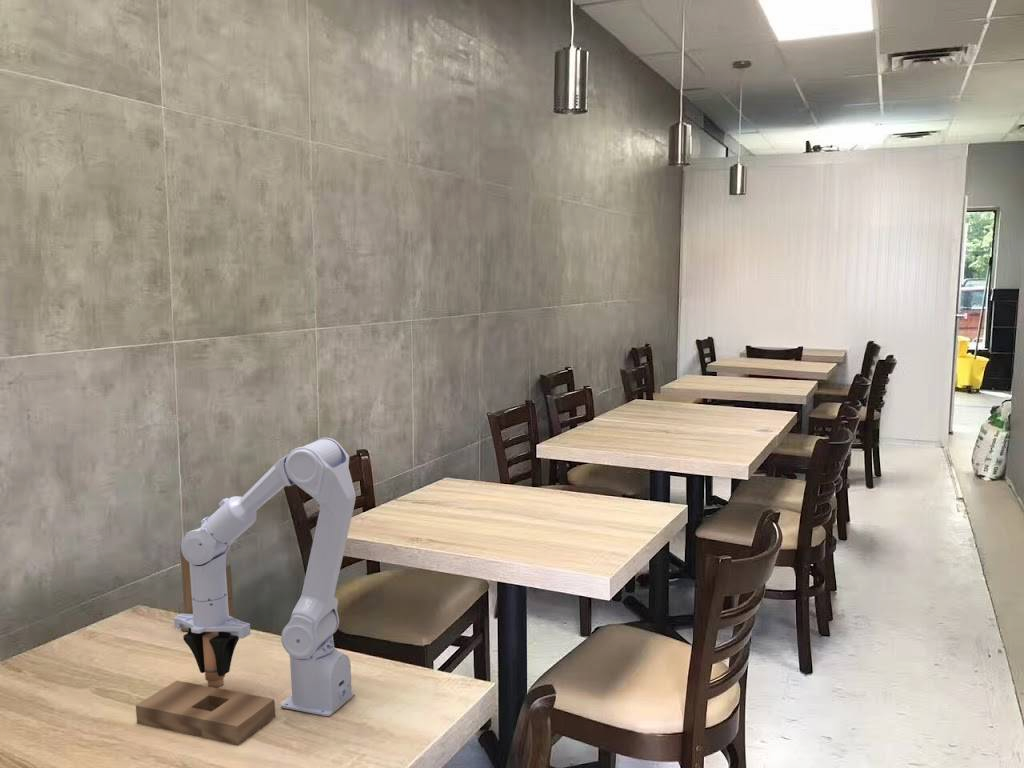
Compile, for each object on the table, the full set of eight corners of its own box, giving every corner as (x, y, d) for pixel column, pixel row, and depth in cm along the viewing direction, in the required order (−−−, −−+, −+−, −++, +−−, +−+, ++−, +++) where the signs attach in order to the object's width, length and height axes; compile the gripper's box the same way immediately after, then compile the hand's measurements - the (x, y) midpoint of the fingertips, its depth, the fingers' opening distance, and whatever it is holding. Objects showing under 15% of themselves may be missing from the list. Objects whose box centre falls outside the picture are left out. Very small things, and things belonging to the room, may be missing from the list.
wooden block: (223, 638, 167) (218, 550, 165) (180, 631, 170) (174, 545, 168) (235, 630, 170) (230, 545, 168) (193, 624, 174) (187, 540, 172)
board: (275, 716, 135) (274, 699, 135) (238, 745, 127) (237, 726, 126) (178, 697, 142) (176, 680, 142) (136, 723, 134) (135, 705, 133)
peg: (230, 682, 144) (226, 632, 143) (216, 691, 141) (213, 640, 140) (214, 679, 146) (211, 630, 145) (201, 688, 142) (197, 637, 141)
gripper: (158, 599, 141) (164, 676, 142) (228, 608, 135) (233, 688, 137) (188, 585, 147) (194, 658, 149) (256, 593, 142) (261, 670, 143)
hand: (214, 672), depth 143 cm, fingers closed on peg, 3 cm apart
